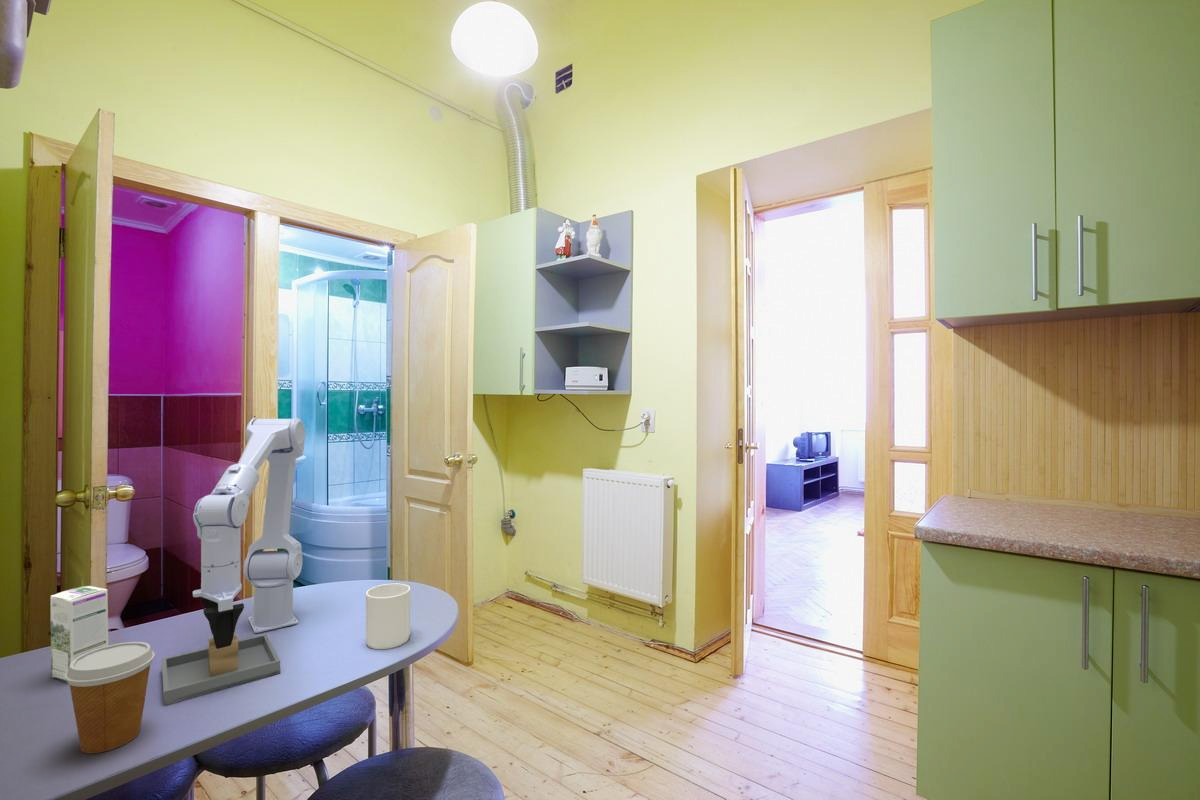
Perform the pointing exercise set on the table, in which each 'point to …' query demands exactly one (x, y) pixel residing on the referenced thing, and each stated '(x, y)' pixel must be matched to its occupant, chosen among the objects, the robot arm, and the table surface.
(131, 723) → the disposable coffee cup
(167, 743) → the table surface
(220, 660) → the block
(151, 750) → the table surface
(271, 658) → the tray
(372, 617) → the cup
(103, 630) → the syrup box
